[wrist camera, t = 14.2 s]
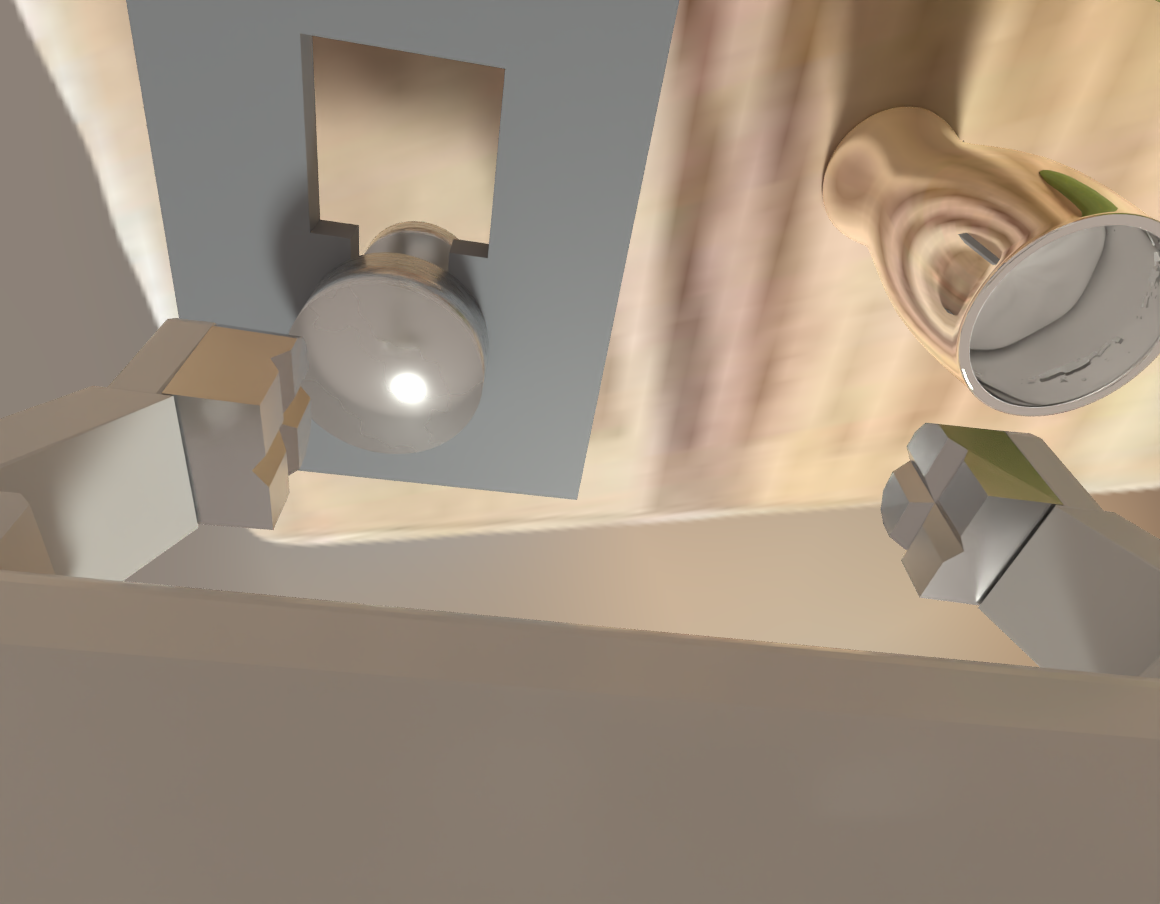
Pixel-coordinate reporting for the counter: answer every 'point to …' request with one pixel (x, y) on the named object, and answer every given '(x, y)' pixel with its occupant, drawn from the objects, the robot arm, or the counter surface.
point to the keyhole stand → (488, 271)
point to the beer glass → (1001, 261)
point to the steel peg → (394, 345)
